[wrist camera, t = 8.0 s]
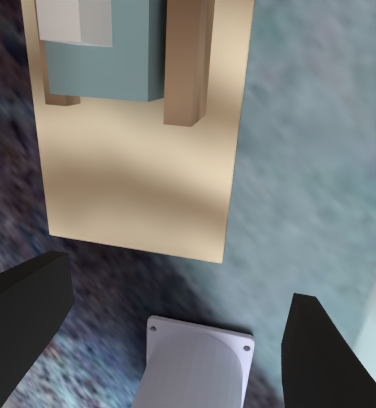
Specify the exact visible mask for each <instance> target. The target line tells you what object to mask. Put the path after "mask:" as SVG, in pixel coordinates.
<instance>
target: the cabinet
mask: <svg viewBox="0 0 376 408" xmlns="http://www.w3.org/2000/svg"><path fill="white" fill-rule="evenodd" d="M36 7H37V16H38V26H39V35H40V40H44V41H45V50H46V60H47V69H48V79H49V89H50V94H58V95H69V96H81V97H93V98H104V99H116V100H128V101H139V102H150V101H154V100H158V99H161V98H164V89H165V57H166V26H167V0H36Z"/></svg>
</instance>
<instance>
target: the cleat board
mask: <svg viewBox="0 0 376 408" xmlns="http://www.w3.org/2000/svg"><path fill="white" fill-rule="evenodd" d="M254 3H255V0H167V26H166V57H165V89H164V98H161V99H158V100H154V101H150V102H139V101H128V100H116V99H104V98H93V97H81V96H69V95H58V94H50V89H49V79H48V69H47V60H46V50H45V41H44V40H40V35H39V26H38V16H37V7H36V0H21V5H22V13H23V21H24V29H25V37H26V45H27V54H28V62H29V70H30V78H31V86H32V94H33V102H34V111H35V119H36V127H37V135H38V143H39V151H40V159H41V168H42V176H43V184H44V192H45V200H46V208H47V216H48V225H49V233H50V235H53V236H59V237H65V238H71V239H77V240H83V241H89V242H95V243H101V244H107V245H113V246H119V247H125V248H131V249H137V250H143V251H149V252H155V253H161V254H167V255H173V256H179V257H185V258H191V259H197V260H203V261H209V262H215V263H221V264H222V259H223V254H224V245H225V237H226V229H227V221H228V213H229V205H230V197H231V189H232V181H233V173H234V165H235V157H236V149H237V141H238V132H239V124H240V116H241V108H242V100H243V92H244V84H245V76H246V68H247V60H248V52H249V44H250V36H251V28H252V19H253V11H254Z"/></svg>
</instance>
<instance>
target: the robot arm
mask: <svg viewBox="0 0 376 408" xmlns="http://www.w3.org/2000/svg"><path fill="white" fill-rule="evenodd" d="M73 303H74V297H73V289H72V280H71V272H70V263H69V255H68V253H63V252H58V251H49V252H46V253H44V254H41V255H39V256H37V257H34V258H32V259H30V260H28V261H26V262H23V263H21V264H19V265H17V266H15V267H13V268H10V269H8V270H6V271H4V272H2V273H0V408H1V407H2V406H3V404H4V403H5V402H6V400H7V399H8V397H9V396H10V394H11V393H12V392H13V390H14V389H15V388H16V386H17V385H18V384H19V382H20V381H21V380H22V378H23V377H24V376H25V374H26V373H27V372H28V370H29V369H30V368H31V366H32V365H33V364H34V362H35V361H36V360H37V358H38V357H39V356H40V354H41V353H42V352H43V350H44V349H45V348H46V346H47V345H48V344H49V342H50V341H51V339H52V338H53V337H54V335H55V334H56V333H57V331H58V330H59V328H60V326H61V325H62V323H63V321H64V320H65V318H66V316H67V314H68V312H69V311H70V309H71V307H72V305H73ZM152 326H154V327H155V328H153V327H152ZM245 346H249V347H245ZM254 346H255V339H254V337H253V336H252V335H249V334H244V333H239V332H234V331H229V330H224V329H219V328H214V327H209V326H204V325H199V324H194V323H189V322H184V321H179V320H174V319H169V318H164V317H159V316H150V317H149V319H148V321H147V365H146V369H145V372H144V374H143V377H142V380H141V382H140V385H139V387H138V390H137V393H136V395H135V398H134V400H133V403H132V406H131V408H243V402H244V397H245V392H246V387H247V382H248V377H249V372H250V366H251V361H252V356H253V351H254ZM281 367H282V386H283V394H284V403H285V408H376V382H375V381H374V380H373V378H372V377H371V376H370V374H369V373H368V372H367V370H366V369H365V368H364V366H363V365H362V364H361V362H360V361H359V360H358V358H357V357H356V355H355V354H354V352H353V351H352V350H351V348H350V347H349V346H348V344H347V343H346V341H345V340H344V338H343V337H342V335H341V334H340V332H339V331H338V330H337V328H336V327H335V325H334V324H333V322H332V320H331V319H330V317H329V316H328V314H327V313H326V311H325V310H324V308H323V307H322V305H321V304H320V302H319V301H318V299H317V298H316V297H314V296H309V295H303V294H297V293H294V295H293V299H292V303H291V307H290V311H289V315H288V319H287V323H286V327H285V331H284V335H283V339H282V343H281Z"/></svg>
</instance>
